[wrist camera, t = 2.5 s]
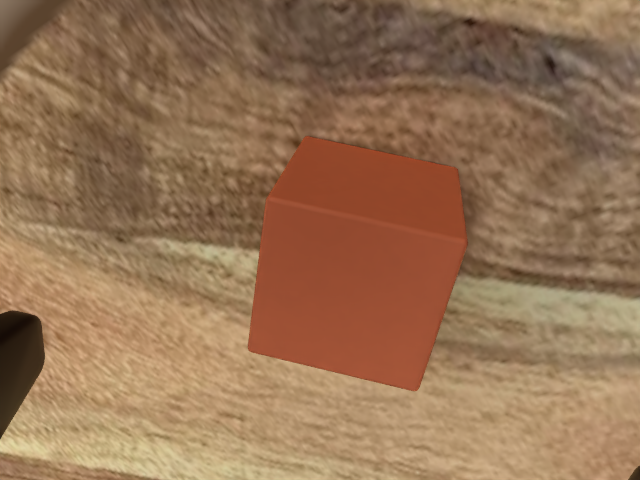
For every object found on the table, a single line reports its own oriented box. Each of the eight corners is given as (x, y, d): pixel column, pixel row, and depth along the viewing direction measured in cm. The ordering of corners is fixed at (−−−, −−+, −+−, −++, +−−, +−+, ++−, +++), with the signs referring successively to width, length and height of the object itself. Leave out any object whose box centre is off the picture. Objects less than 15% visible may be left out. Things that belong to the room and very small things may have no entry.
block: (284, 264, 15) (245, 353, 12) (304, 134, 13) (265, 196, 10) (420, 295, 14) (418, 394, 11) (458, 166, 13) (469, 241, 10)
